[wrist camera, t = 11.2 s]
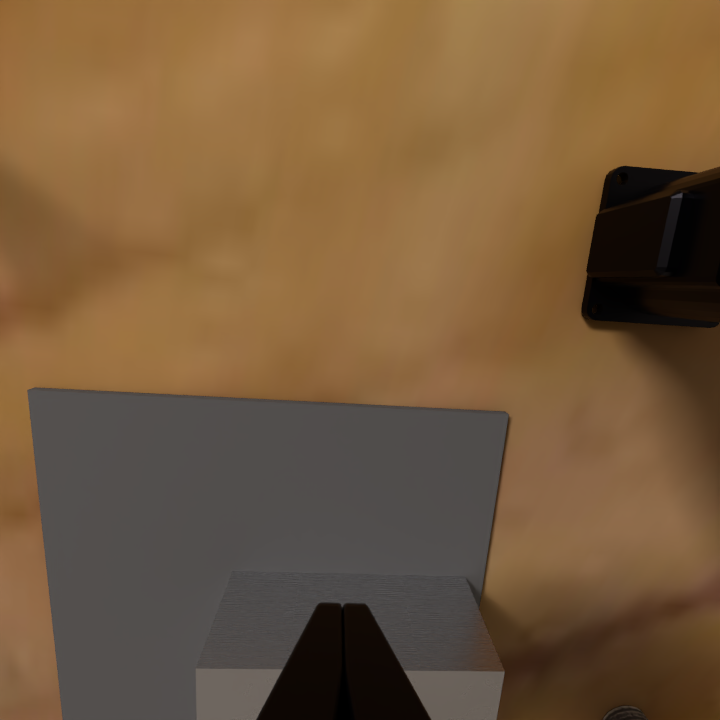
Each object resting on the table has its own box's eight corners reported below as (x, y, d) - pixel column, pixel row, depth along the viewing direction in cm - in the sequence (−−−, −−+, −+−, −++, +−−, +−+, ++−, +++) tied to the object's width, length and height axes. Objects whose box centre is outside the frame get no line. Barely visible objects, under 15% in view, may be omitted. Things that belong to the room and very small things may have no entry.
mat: (505, 411, 19) (508, 414, 18) (452, 758, 23) (454, 767, 23) (34, 387, 17) (27, 389, 17) (73, 760, 22) (68, 768, 21)
